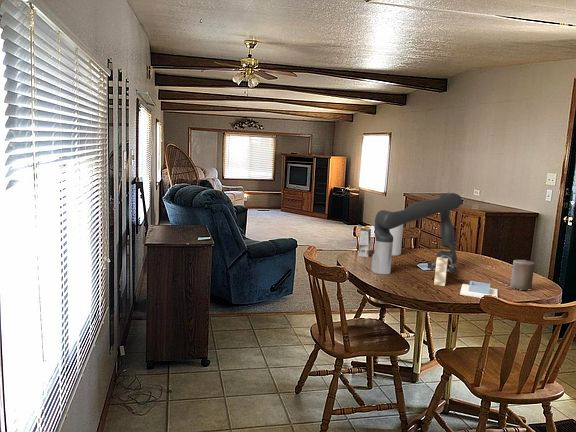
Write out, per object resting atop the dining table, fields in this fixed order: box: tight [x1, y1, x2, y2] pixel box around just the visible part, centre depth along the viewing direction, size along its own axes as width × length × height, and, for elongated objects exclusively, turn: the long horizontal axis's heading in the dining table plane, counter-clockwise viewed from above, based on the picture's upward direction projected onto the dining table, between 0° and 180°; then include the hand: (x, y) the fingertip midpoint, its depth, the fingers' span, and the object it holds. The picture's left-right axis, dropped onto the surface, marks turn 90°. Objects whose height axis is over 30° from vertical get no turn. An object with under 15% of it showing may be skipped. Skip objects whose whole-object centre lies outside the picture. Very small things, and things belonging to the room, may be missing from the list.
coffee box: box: [358, 228, 372, 258], centre depth 295 cm, size 9×6×16 cm
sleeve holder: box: [459, 280, 498, 299], centre depth 227 cm, size 16×16×4 cm
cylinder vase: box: [390, 224, 404, 257], centre depth 303 cm, size 12×12×25 cm
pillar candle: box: [509, 259, 535, 291], centre depth 239 cm, size 10×10×15 cm
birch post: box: [433, 257, 448, 287], centre depth 239 cm, size 5×5×13 cm
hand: (441, 269), depth 238 cm, fingers open, 8 cm apart
